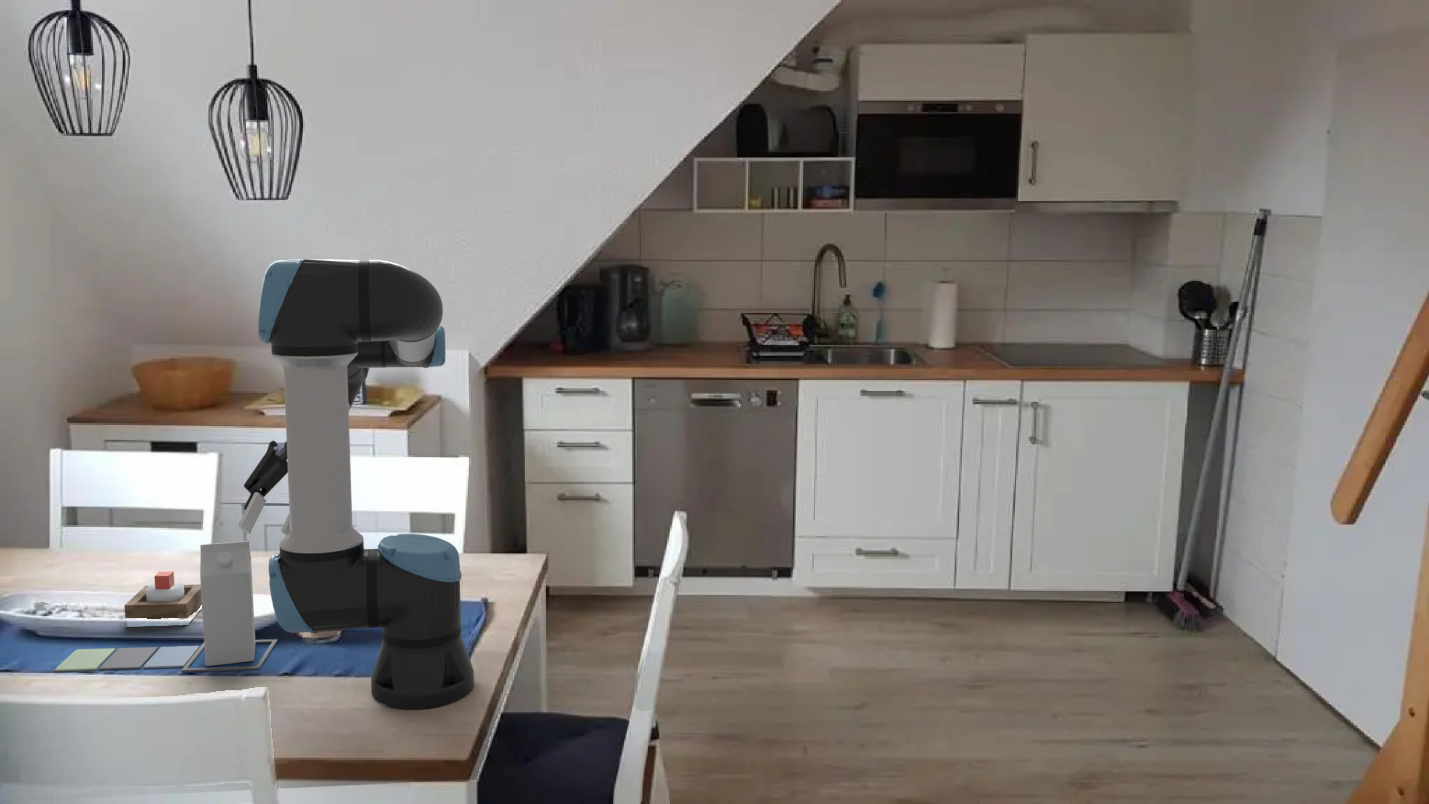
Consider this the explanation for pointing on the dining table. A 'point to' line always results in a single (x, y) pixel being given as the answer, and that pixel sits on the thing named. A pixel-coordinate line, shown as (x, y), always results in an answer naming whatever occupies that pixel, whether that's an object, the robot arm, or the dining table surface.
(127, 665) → the track
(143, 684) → the dining table surface
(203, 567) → the milk carton
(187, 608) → the wooden square tray
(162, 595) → the red white stacked block
